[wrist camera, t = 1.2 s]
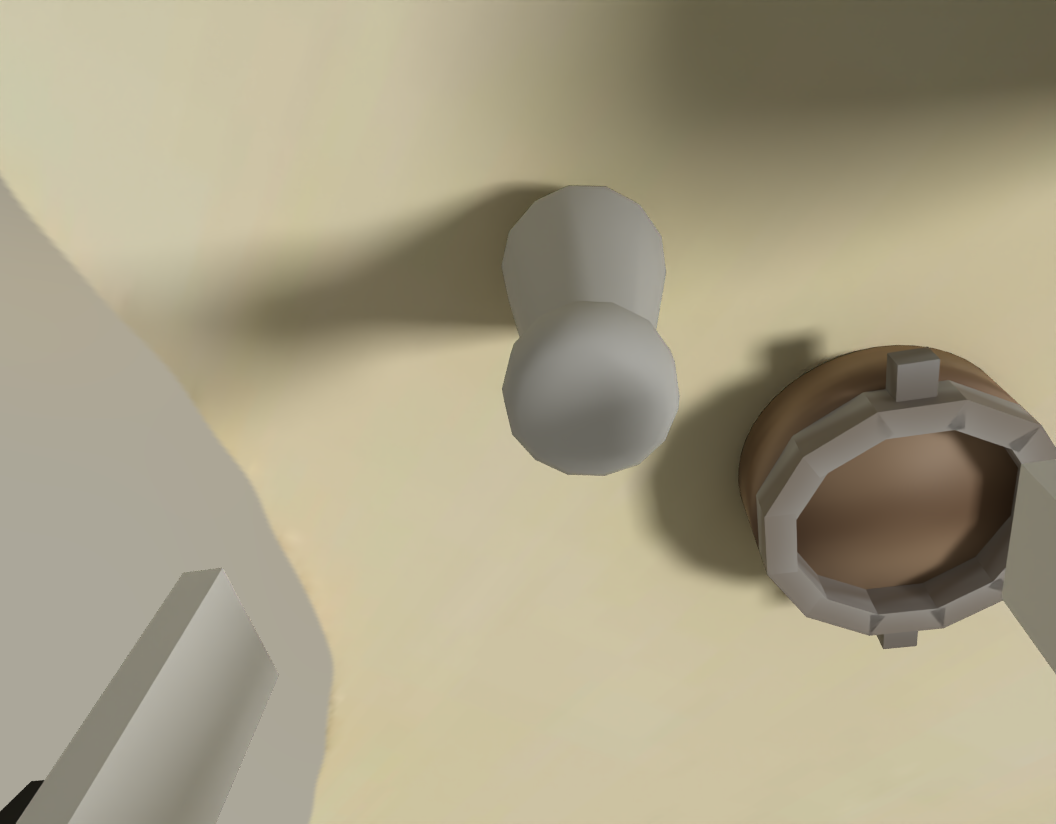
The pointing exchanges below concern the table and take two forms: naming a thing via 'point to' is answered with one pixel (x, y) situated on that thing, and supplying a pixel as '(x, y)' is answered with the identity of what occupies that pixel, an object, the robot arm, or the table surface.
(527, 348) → the salt shaker
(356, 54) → the table surface
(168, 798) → the robot arm
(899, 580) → the brown bowl with handles
